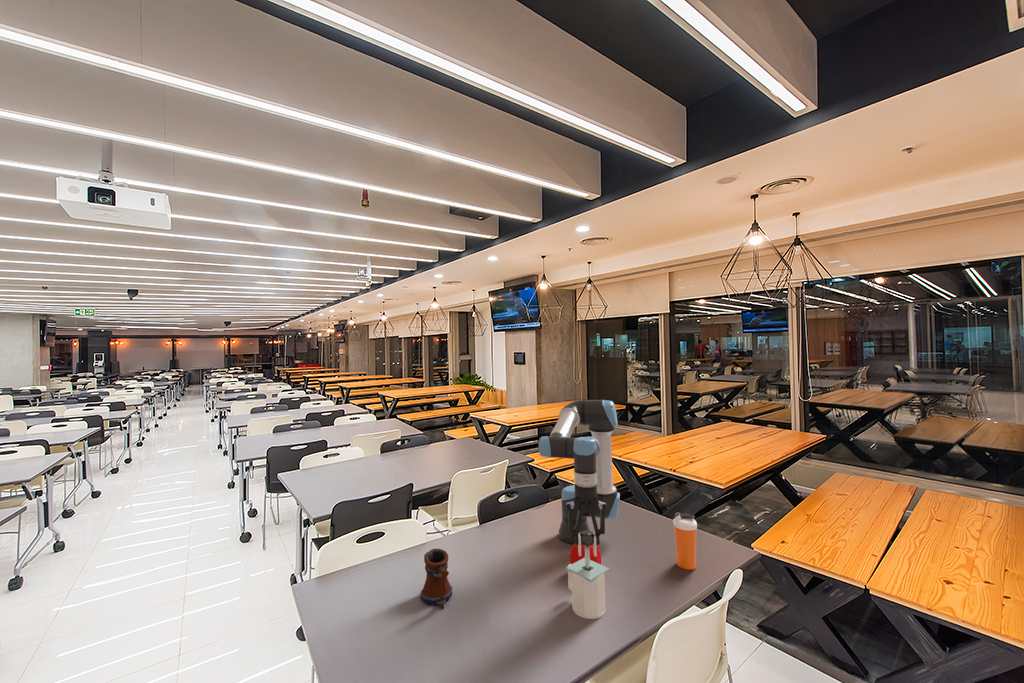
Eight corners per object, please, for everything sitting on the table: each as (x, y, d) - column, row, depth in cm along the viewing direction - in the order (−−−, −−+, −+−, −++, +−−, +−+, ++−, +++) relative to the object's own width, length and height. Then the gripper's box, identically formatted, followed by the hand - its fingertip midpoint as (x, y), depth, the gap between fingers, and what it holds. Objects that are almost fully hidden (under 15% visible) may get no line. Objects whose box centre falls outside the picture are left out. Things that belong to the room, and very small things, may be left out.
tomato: (605, 582, 151) (604, 546, 151) (573, 584, 150) (572, 547, 150) (597, 566, 162) (596, 532, 163) (567, 567, 161) (566, 534, 162)
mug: (462, 611, 135) (462, 565, 136) (428, 621, 130) (428, 573, 131) (447, 584, 151) (447, 543, 152) (417, 592, 146) (416, 550, 147)
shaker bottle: (701, 572, 156) (699, 519, 157) (676, 570, 158) (675, 518, 159) (695, 560, 165) (693, 511, 166) (672, 558, 167) (670, 510, 168)
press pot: (559, 604, 138) (558, 564, 138) (580, 591, 145) (579, 553, 145) (591, 624, 127) (590, 580, 128) (612, 609, 134) (611, 568, 135)
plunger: (572, 588, 136) (570, 533, 136) (586, 580, 141) (585, 526, 141) (590, 598, 130) (588, 540, 131) (604, 589, 135) (602, 533, 136)
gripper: (560, 487, 134) (561, 559, 133) (613, 487, 132) (615, 560, 131) (559, 480, 141) (560, 548, 140) (609, 480, 140) (611, 549, 139)
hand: (587, 554), depth 136 cm, fingers closed on plunger, 4 cm apart
